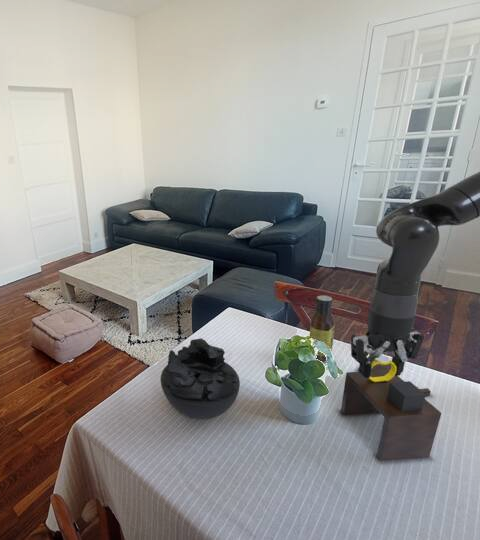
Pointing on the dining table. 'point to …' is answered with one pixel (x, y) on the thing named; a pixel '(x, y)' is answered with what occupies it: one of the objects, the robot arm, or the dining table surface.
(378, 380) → the watch
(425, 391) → the low rack
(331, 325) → the sauce bottle
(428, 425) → the high shelf
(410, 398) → the charcoal block
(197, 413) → the bowl of black rocks
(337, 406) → the dining table surface
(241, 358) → the dining table surface
